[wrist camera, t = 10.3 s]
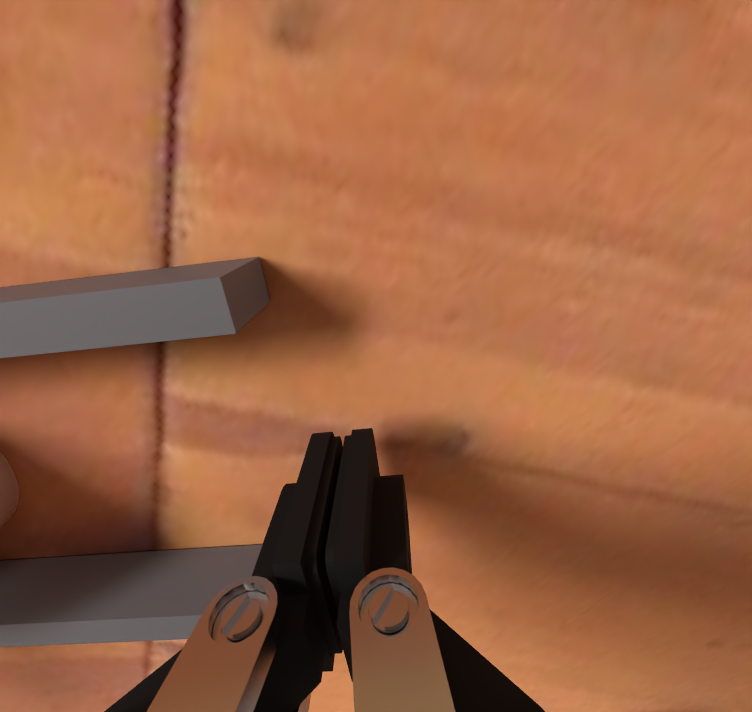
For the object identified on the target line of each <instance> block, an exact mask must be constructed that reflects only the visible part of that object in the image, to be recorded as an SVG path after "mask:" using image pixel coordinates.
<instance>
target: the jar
mask: <svg viewBox="0 0 752 712" xmlns="http://www.w3.org/2000/svg"><path fill="white" fill-rule="evenodd" d="M19 496H20V495H19V486H18V482H17V479H16V477H15V474H14V472H13V470H12V468H11V466H10V465H9V463H8V461H7V460H6V459H5V457H4V456H3V455H2V453H1V452H0V527H1V526H2V525H3V524H4V523H5V522H6V521H7V520H8V519H10V518H11V517H12V516H13V514H14V512H15V511H16V509H17V506H18V504H19Z"/></svg>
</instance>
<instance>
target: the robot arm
mask: <svg viewBox="0 0 752 712" xmlns="http://www.w3.org/2000/svg"><path fill="white" fill-rule="evenodd" d="M343 650H344V654H345V657H346V661H347V665H348V668H349V672H350V676H351V679H352V681H353V691H354V709H355V712H545V711H544V710H543V709H542V708H541V707H540V706H539V705H538V704H537V703H536V702H534V701H533V700H532V699H531V698H530V697H529V696H528V695H526V694H525V693H524V692H523V691H522V690H521V689H520V688H519V687H517V686H516V685H515V684H514V683H513V682H512V681H511V680H509V679H508V678H507V677H506V676H505V675H504V674H503V673H502V672H500V671H499V670H498V669H497V668H496V667H495V666H494V665H492V664H491V663H490V662H489V661H488V660H487V659H486V658H484V657H483V656H482V655H481V654H480V653H479V652H478V651H477V650H475V649H474V648H473V647H472V646H471V645H470V644H469V643H467V642H466V641H465V640H464V639H463V638H462V637H461V636H460V635H458V634H457V633H456V632H455V631H454V630H453V629H452V628H450V627H449V626H448V625H447V624H446V623H445V622H444V621H443V620H441V619H440V618H439V617H438V616H437V615H436V614H435V613H433V612H432V611H431V610H430V609H429V605H428V601H427V597H426V594H425V591H424V589H423V587H422V585H421V583H420V582H419V581H418V580H417V579H416V578H415V576H413V575H412V567H411V552H410V536H409V522H408V511H407V501H406V492H405V484H404V477H403V475H391V476H380V473H379V466H378V460H377V453H376V447H375V441H374V434H373V430H372V428H369V429H358V430H352V434H351V435H350V436H345V439H344V445H342V441H341V437H340V436H338V437H334V434H333V432H325V433H314V434H312V436H311V438H310V442H309V445H308V448H307V451H306V454H305V458H304V461H303V464H302V467H301V470H300V474H299V477H298V480H297V483H292V484H286V485H285V486H284V487H283V489H282V491H281V494H280V497H279V500H278V503H277V505H276V508H275V511H274V514H273V517H272V520H271V522H270V525H269V528H268V531H267V534H266V536H265V539H264V542H263V545H262V548H261V551H260V553H259V556H258V559H257V562H256V565H255V568H254V570H253V573H252V576H247V577H244V578H241V579H238V580H235V581H234V582H232V583H230V584H229V585H227V586H225V587H224V588H223V589H222V590H221V591H220V592H219V593H218V594H216V595H215V596H214V598H213V599H212V600H211V602H210V603H209V604H208V606H207V607H206V609H205V611H204V612H203V614H202V616H201V618H200V619H199V621H198V623H197V625H196V626H195V628H194V630H193V632H192V633H191V635H190V637H189V639H188V640H187V642H186V644H185V645H184V647H183V649H182V650H180V651H179V652H178V653H177V654H175V655H174V656H173V657H172V658H170V659H169V660H168V661H167V662H165V663H164V664H163V665H162V666H161V667H159V668H158V669H157V670H156V671H154V672H153V673H152V674H151V675H149V676H148V677H147V678H146V679H144V680H143V681H142V682H141V683H139V684H138V685H137V686H136V687H134V688H133V689H132V690H131V691H129V692H128V693H127V694H126V695H124V696H123V697H122V698H121V699H119V700H118V701H117V702H116V703H114V704H113V705H112V706H111V707H109V708H108V709H107V710H106V711H105V712H308V710H309V704H310V698H311V692H312V691H313V690H314V689H315V688H316V687H317V686H318V684H319V683H320V682H321V678H322V672H323V671H333V665H334V656H335V653H342V651H343Z"/></svg>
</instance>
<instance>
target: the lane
mask: <svg viewBox="0 0 752 712" xmlns="http://www.w3.org/2000/svg"><path fill="white" fill-rule="evenodd" d="M269 302H270V300H269V296H268V291H267V287H266V283H265V279H264V275H263V270H262V266H261V262H260V258H259V257H254V258H246V259H237V260H229V261H220V262H212V263H204V264H195V265H187V266H178V267H170V268H161V269H153V270H144V271H136V272H128V273H119V274H111V275H102V276H94V277H85V278H77V279H68V280H60V281H51V282H43V283H35V284H26V285H18V286H9V287H1V288H0V358H8V357H17V356H27V355H37V354H46V353H56V352H66V351H75V350H85V349H94V348H104V347H114V346H123V345H133V344H143V343H152V342H162V341H171V340H181V339H191V338H200V337H210V336H220V335H229V334H236V333H237V332H238V331H239V330H241V329H242V328H243V327H244V326H245V325H246V324H247V323H248V322H249V321H250V320H251V319H252V318H253V317H254V316H255V315H256V314H257V313H258V312H259V311H261V310H262V309H263V308H264V307H265V306H266V305H267V304H268V303H269ZM262 545H263V544H259V545H243V546H227V547H211V548H195V549H179V550H163V551H147V552H131V553H115V554H99V555H83V556H67V557H51V558H35V559H19V560H3V561H0V647H19V646H41V645H64V644H86V643H108V642H131V641H153V640H175V639H189V637H190V635H191V633H192V632H193V630H194V628H195V626H196V625H197V623H198V621H199V619H200V618H201V616H202V614H203V612H204V611H205V609H206V607H207V606H208V604H209V603H210V602H211V600H212V599H213V598H214V596H215V595H216V594H218V593H219V592H220V591H221V590H222V589H223V588H224V587H225V586H227V585H229V584H230V583H232V582H234V581H235V580H238V579H241V578H244V577H247V576H252V573H253V570H254V568H255V565H256V562H257V559H258V556H259V553H260V551H261V548H262Z"/></svg>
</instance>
